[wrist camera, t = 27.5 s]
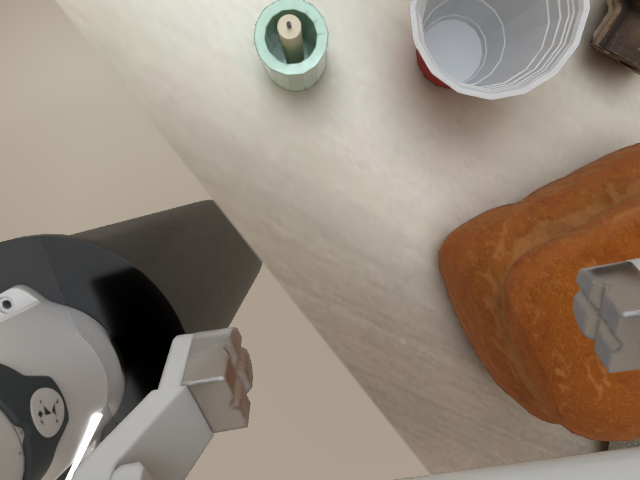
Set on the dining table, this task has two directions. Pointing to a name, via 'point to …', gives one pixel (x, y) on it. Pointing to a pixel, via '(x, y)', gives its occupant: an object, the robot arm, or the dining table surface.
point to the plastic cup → (495, 42)
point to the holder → (272, 51)
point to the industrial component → (620, 33)
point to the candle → (291, 38)
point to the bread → (550, 294)
